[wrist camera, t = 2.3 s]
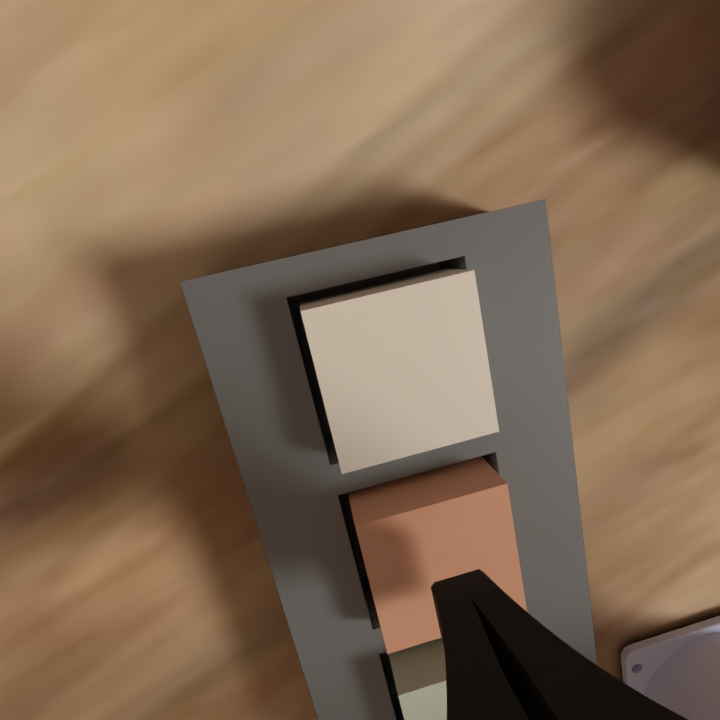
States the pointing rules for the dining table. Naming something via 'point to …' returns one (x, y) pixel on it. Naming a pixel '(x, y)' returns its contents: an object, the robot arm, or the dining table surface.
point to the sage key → (421, 680)
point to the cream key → (402, 366)
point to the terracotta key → (433, 542)
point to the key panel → (330, 487)
